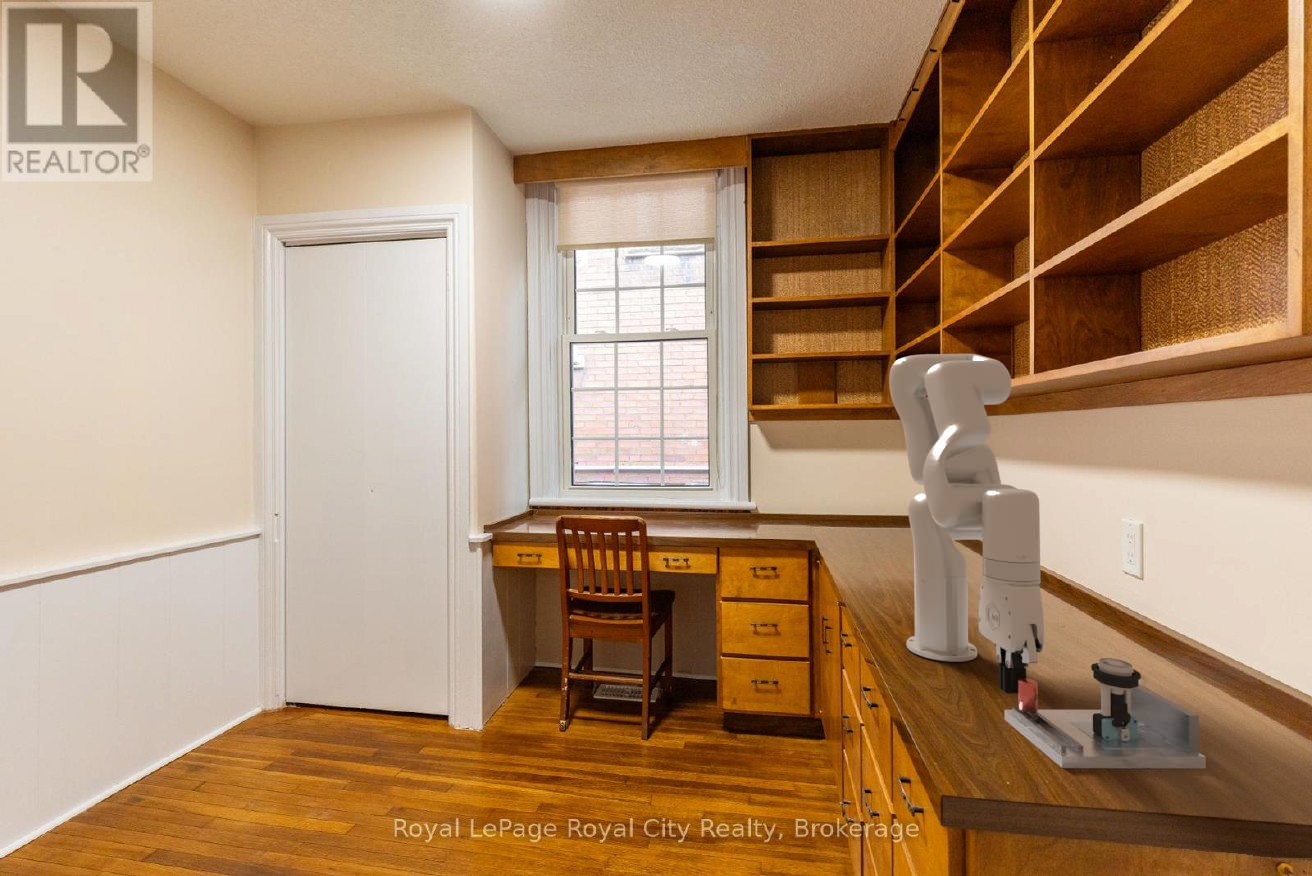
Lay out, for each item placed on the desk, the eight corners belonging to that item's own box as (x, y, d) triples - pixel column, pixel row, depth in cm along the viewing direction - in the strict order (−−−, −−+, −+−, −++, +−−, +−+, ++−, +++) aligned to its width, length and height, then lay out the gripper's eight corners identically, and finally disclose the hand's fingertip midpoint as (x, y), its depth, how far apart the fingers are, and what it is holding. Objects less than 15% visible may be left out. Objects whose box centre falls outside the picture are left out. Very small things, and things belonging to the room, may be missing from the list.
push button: (1127, 725, 83) (1126, 654, 83) (1161, 745, 78) (1161, 669, 78) (1082, 727, 83) (1081, 656, 83) (1114, 747, 78) (1113, 671, 78)
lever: (1013, 710, 88) (1013, 677, 88) (1030, 710, 88) (1029, 677, 88) (1025, 720, 85) (1025, 685, 85) (1042, 720, 85) (1042, 685, 85)
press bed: (1004, 719, 89) (1004, 676, 89) (1126, 719, 88) (1126, 676, 88) (1061, 768, 76) (1061, 717, 76) (1205, 768, 75) (1205, 717, 75)
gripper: (961, 560, 98) (963, 672, 97) (1014, 582, 83) (1016, 713, 82) (1007, 560, 97) (1009, 672, 97) (1069, 581, 82) (1071, 713, 82)
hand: (1012, 690), depth 90 cm, fingers closed
